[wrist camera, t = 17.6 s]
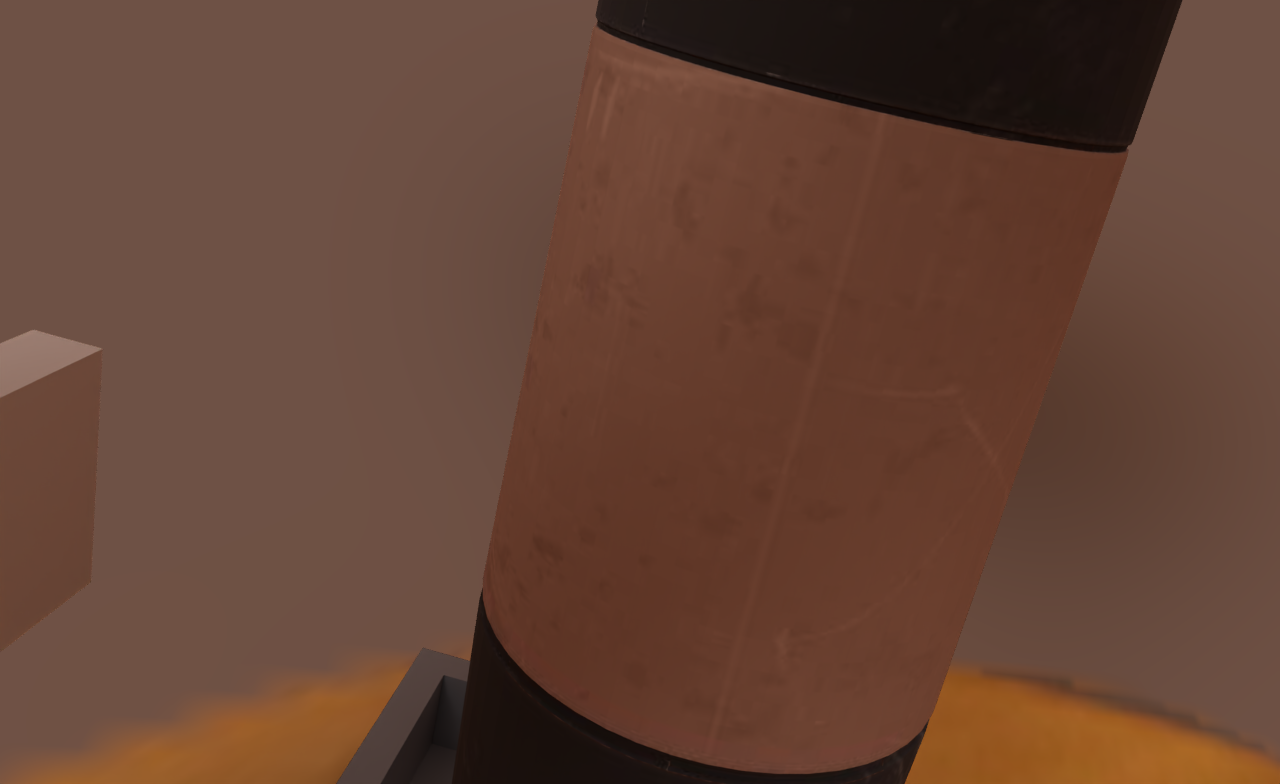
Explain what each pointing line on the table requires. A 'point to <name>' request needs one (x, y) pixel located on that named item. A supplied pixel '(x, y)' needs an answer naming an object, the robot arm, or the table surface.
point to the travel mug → (787, 376)
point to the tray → (415, 727)
